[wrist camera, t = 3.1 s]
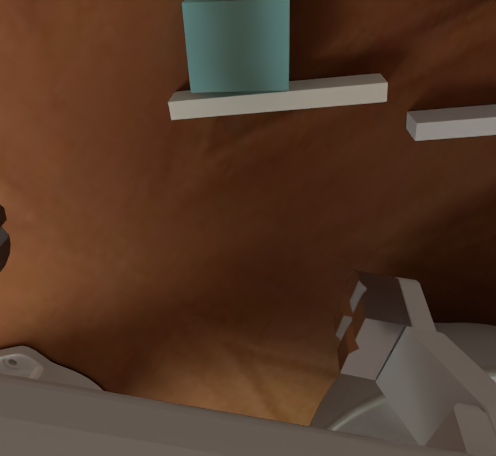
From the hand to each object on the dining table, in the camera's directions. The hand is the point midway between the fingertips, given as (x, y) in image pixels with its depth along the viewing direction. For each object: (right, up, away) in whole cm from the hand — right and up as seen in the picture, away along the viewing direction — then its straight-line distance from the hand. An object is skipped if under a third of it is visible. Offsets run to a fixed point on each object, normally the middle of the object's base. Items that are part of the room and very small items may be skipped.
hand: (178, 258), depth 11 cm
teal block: (+1, +13, +19) cm, 24 cm away
